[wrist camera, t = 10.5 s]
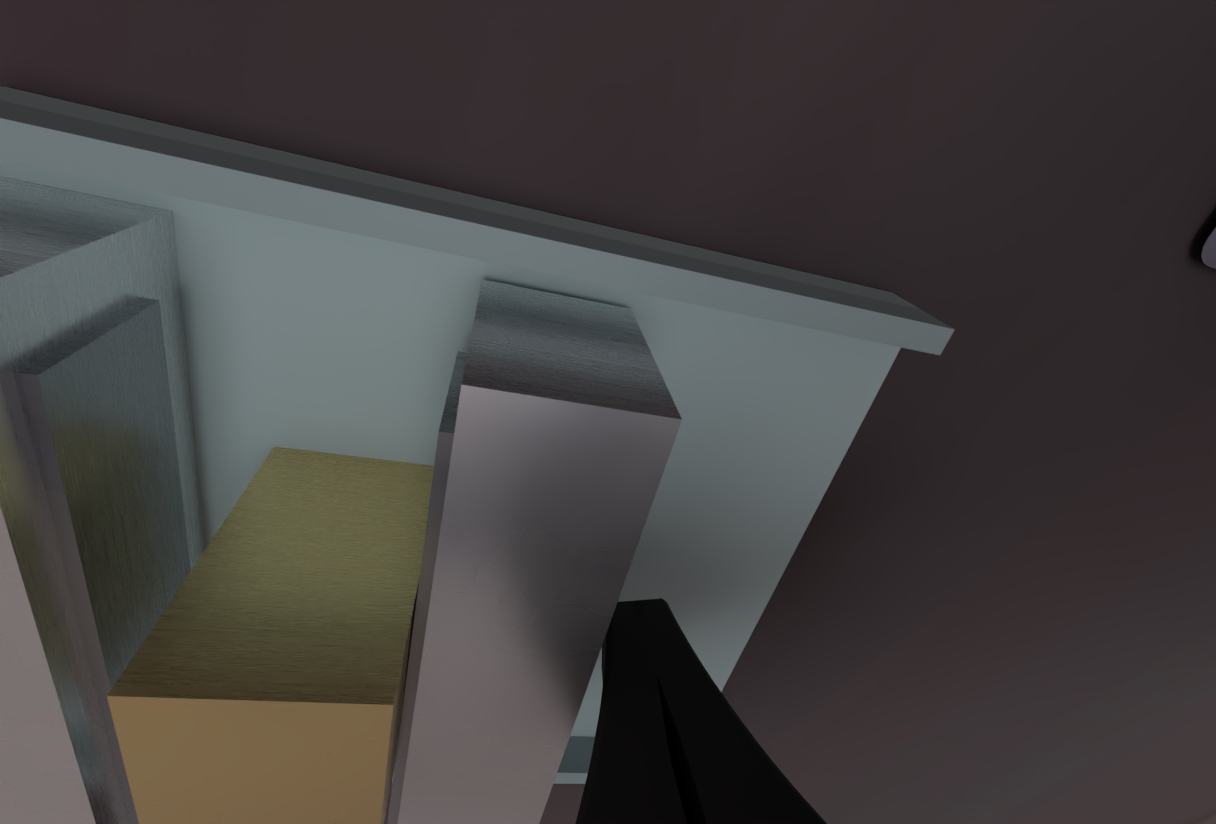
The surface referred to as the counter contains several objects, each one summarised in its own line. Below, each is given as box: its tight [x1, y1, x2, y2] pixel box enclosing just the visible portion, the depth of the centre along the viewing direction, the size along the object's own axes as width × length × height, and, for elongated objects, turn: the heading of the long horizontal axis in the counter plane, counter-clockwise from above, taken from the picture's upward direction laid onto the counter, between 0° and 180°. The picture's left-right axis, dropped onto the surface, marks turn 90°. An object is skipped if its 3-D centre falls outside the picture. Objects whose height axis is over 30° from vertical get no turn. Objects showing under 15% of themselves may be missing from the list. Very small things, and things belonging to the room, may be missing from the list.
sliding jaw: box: [387, 279, 682, 824], centre depth 11 cm, size 3×12×4 cm, turn 166°
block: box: [107, 447, 434, 824], centre depth 10 cm, size 3×4×5 cm
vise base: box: [0, 87, 955, 784], centre depth 12 cm, size 15×14×2 cm
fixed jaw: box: [0, 176, 206, 824], centre depth 9 cm, size 3×12×4 cm, turn 166°
